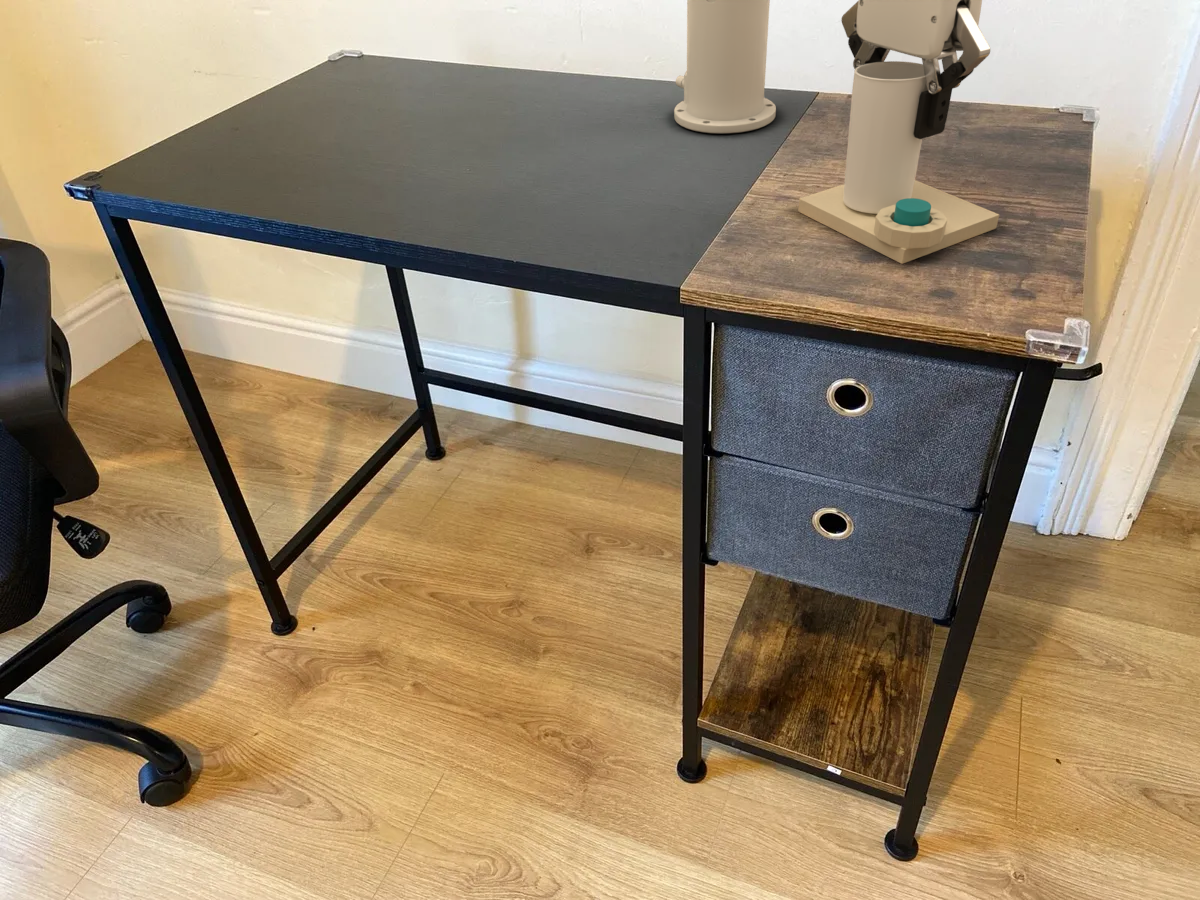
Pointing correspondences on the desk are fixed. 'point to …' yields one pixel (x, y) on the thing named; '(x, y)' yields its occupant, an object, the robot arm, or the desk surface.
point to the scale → (897, 241)
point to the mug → (883, 135)
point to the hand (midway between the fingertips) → (897, 122)
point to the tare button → (912, 212)
